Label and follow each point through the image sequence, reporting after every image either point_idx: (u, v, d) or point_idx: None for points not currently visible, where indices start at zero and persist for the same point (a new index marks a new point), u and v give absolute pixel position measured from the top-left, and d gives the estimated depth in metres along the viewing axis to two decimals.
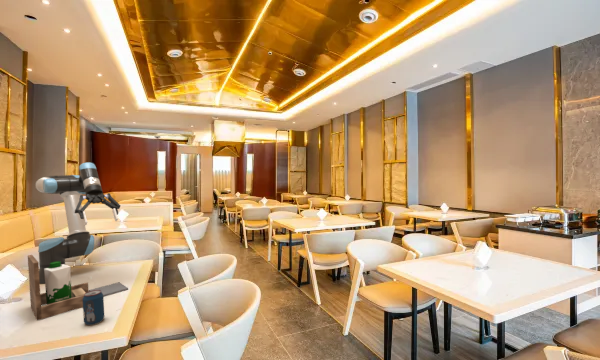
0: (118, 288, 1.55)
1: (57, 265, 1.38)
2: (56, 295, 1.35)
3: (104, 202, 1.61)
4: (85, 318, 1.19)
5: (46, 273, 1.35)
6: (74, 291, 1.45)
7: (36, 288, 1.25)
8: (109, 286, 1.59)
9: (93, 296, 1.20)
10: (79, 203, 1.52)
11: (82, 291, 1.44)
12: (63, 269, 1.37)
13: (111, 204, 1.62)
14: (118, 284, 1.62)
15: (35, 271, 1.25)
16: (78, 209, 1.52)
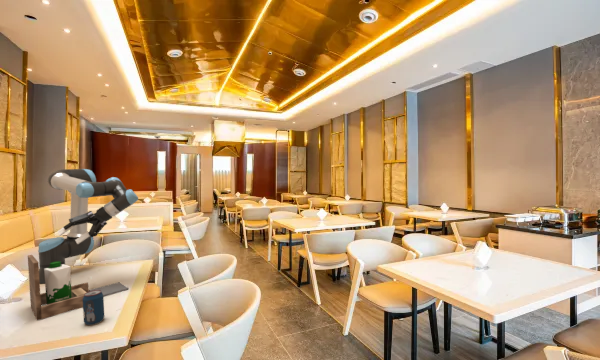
0: (118, 288, 1.55)
1: (57, 265, 1.38)
2: (56, 295, 1.35)
3: (93, 226, 1.58)
4: (85, 318, 1.19)
5: (46, 273, 1.35)
6: (74, 291, 1.45)
7: (36, 288, 1.25)
8: (109, 286, 1.59)
9: (93, 296, 1.20)
10: (81, 219, 1.48)
11: (82, 291, 1.44)
12: (63, 269, 1.37)
13: (93, 232, 1.59)
14: (118, 284, 1.62)
15: (35, 271, 1.25)
16: None
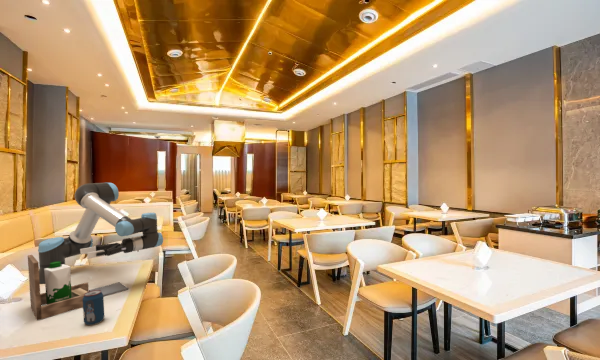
0: (118, 288, 1.55)
1: (57, 265, 1.38)
2: (56, 295, 1.35)
3: (108, 248, 1.56)
4: (85, 318, 1.19)
5: (46, 273, 1.35)
6: (75, 291, 1.44)
7: (36, 288, 1.25)
8: (109, 286, 1.59)
9: (93, 296, 1.20)
10: None
11: (83, 291, 1.45)
12: (63, 269, 1.37)
13: (102, 250, 1.56)
14: (118, 284, 1.62)
15: (35, 271, 1.25)
16: None
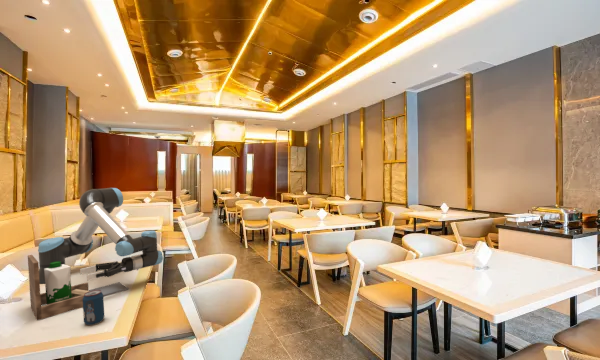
0: (118, 288, 1.55)
1: (57, 265, 1.38)
2: (56, 295, 1.35)
3: (108, 267, 1.56)
4: (85, 318, 1.19)
5: (46, 273, 1.35)
6: (74, 292, 1.44)
7: (36, 288, 1.25)
8: (109, 286, 1.59)
9: (93, 296, 1.20)
10: None
11: (83, 291, 1.45)
12: (63, 269, 1.37)
13: (102, 269, 1.56)
14: (118, 284, 1.62)
15: (35, 271, 1.25)
16: None
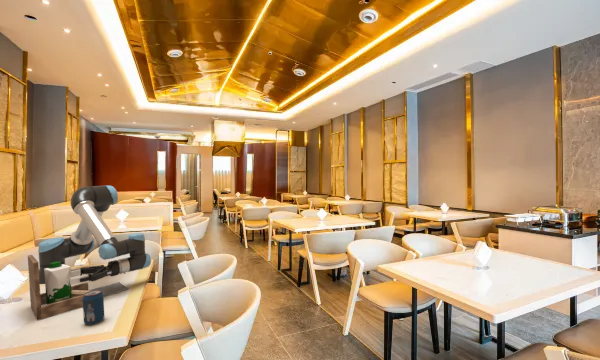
0: (118, 288, 1.55)
1: (57, 265, 1.38)
2: (56, 295, 1.35)
3: (93, 271, 1.51)
4: (85, 318, 1.19)
5: (46, 273, 1.35)
6: (73, 293, 1.43)
7: (36, 288, 1.25)
8: (109, 286, 1.59)
9: (93, 296, 1.20)
10: None
11: (83, 291, 1.45)
12: (63, 269, 1.37)
13: (87, 273, 1.51)
14: (118, 284, 1.62)
15: (35, 271, 1.25)
16: None
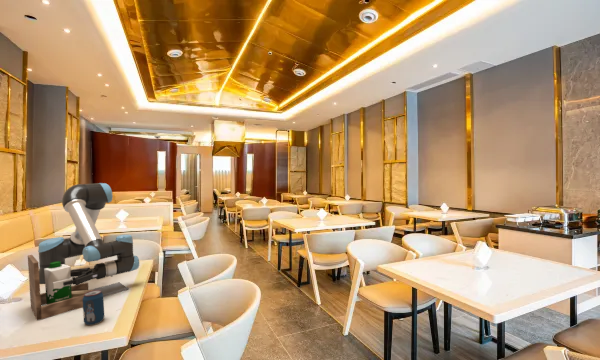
0: (118, 288, 1.55)
1: (57, 265, 1.38)
2: (56, 295, 1.35)
3: (79, 274, 1.47)
4: (85, 318, 1.19)
5: (46, 273, 1.35)
6: (72, 293, 1.42)
7: (36, 288, 1.25)
8: (109, 286, 1.59)
9: (93, 296, 1.20)
10: None
11: (82, 291, 1.45)
12: (63, 269, 1.37)
13: (72, 276, 1.47)
14: (118, 284, 1.62)
15: (35, 271, 1.25)
16: None
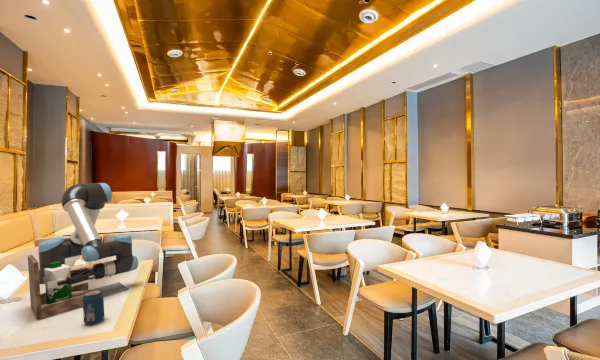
0: (118, 288, 1.55)
1: (57, 265, 1.38)
2: (56, 295, 1.35)
3: (77, 274, 1.46)
4: (85, 318, 1.19)
5: (46, 273, 1.35)
6: (72, 294, 1.42)
7: (36, 288, 1.25)
8: (109, 286, 1.59)
9: (93, 296, 1.20)
10: None
11: (81, 291, 1.45)
12: (63, 269, 1.37)
13: None
14: (118, 284, 1.62)
15: (35, 271, 1.25)
16: None
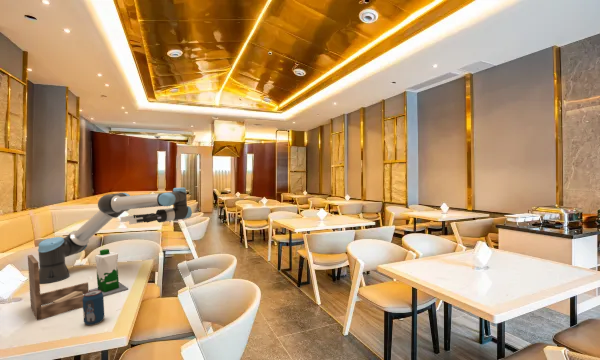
0: (118, 288, 1.55)
1: (106, 252, 1.56)
2: (106, 278, 1.52)
3: None
4: (85, 318, 1.19)
5: (98, 259, 1.52)
6: (66, 298, 1.37)
7: (36, 288, 1.25)
8: None
9: (93, 296, 1.20)
10: (152, 220, 1.65)
11: (68, 295, 1.40)
12: (112, 256, 1.54)
13: None
14: None
15: (35, 271, 1.25)
16: None
